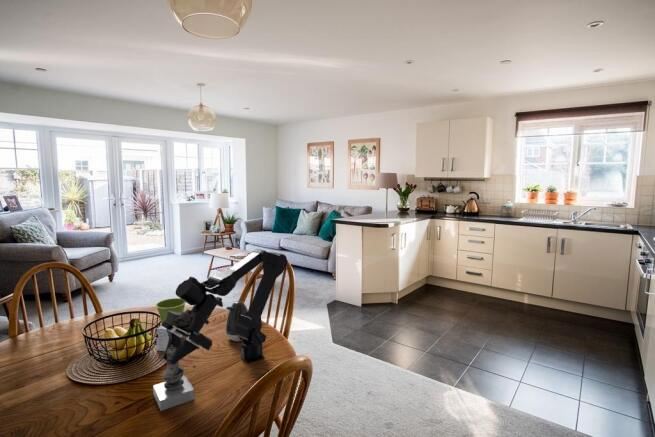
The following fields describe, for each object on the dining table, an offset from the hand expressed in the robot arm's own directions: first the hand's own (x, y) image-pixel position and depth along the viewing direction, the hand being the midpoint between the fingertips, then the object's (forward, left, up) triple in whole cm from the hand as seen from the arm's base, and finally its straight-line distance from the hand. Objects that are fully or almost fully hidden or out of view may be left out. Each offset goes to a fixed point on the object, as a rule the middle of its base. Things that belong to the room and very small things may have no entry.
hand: (168, 361), depth 102 cm
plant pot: (-13, -50, -12) cm, 53 cm away
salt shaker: (-1, 0, -8) cm, 8 cm away
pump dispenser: (-32, -25, -12) cm, 42 cm away
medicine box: (-8, -34, -12) cm, 37 cm away
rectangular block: (-1, 0, -11) cm, 12 cm away
